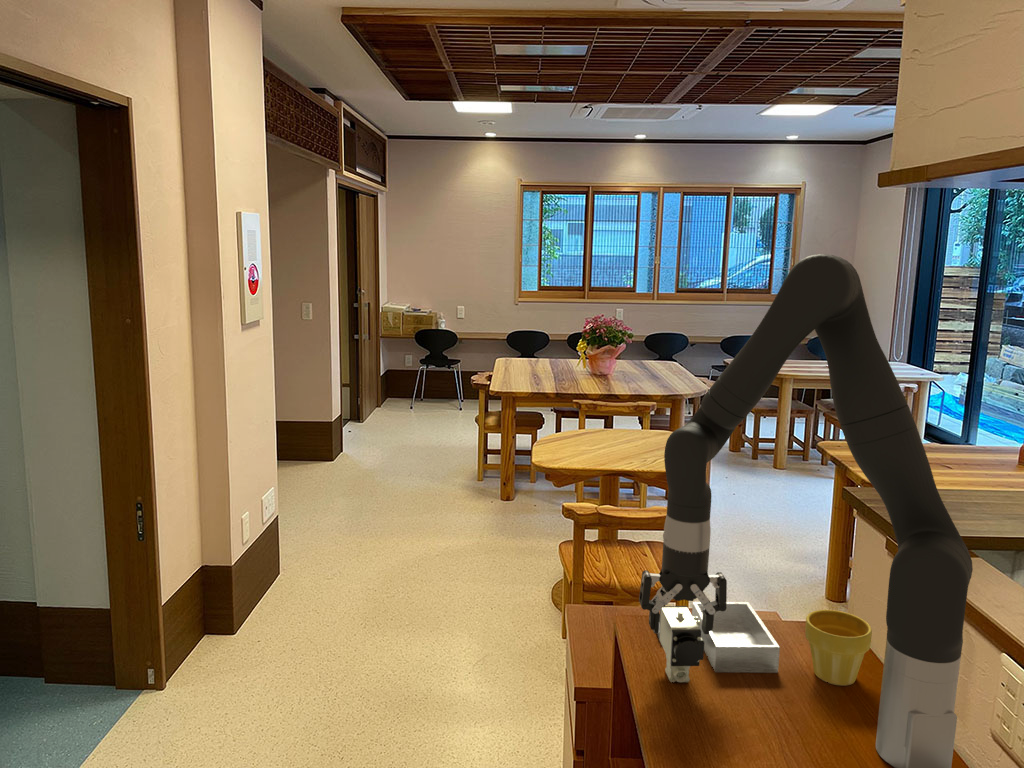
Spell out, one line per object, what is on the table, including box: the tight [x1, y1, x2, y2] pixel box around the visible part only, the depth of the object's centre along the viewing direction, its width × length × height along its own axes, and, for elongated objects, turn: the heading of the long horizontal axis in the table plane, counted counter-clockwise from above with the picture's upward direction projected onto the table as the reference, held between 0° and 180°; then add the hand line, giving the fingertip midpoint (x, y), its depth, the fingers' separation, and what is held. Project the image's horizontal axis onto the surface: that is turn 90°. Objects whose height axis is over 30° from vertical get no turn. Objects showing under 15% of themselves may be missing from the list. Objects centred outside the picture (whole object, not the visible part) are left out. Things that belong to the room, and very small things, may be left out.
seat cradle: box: [691, 601, 781, 674], centre depth 135 cm, size 17×11×5 cm, turn 0°
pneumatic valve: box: [658, 605, 705, 683], centre depth 125 cm, size 6×12×12 cm, turn 2°
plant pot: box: [804, 609, 873, 687], centre depth 126 cm, size 10×10×10 cm
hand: (680, 631), depth 125 cm, fingers open, 8 cm apart
